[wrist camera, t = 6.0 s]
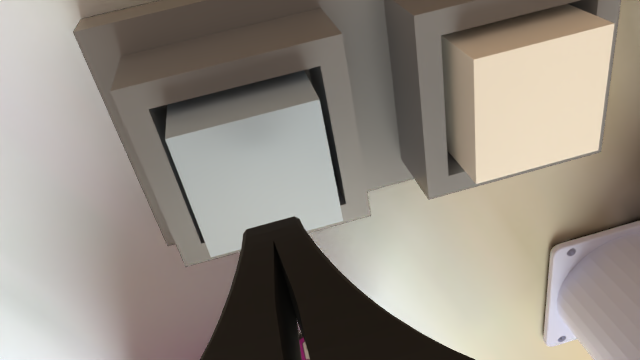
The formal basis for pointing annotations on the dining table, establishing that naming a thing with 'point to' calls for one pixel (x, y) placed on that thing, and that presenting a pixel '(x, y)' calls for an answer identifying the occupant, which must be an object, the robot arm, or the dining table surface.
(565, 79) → the cream key
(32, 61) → the dining table surface
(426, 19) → the key panel
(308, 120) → the light gray key
